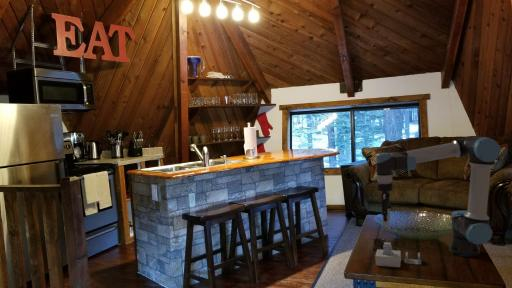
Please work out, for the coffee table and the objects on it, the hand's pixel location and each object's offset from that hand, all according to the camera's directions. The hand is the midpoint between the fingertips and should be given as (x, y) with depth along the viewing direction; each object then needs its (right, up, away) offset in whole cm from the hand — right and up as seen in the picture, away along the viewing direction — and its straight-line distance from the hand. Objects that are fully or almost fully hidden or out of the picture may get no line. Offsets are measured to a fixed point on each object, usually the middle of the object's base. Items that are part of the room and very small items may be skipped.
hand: (386, 223), depth 208 cm
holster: (+14, -21, +1) cm, 25 cm away
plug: (+1, -19, +2) cm, 20 cm away
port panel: (+2, -22, +2) cm, 22 cm away
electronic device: (+5, -20, +20) cm, 29 cm away
